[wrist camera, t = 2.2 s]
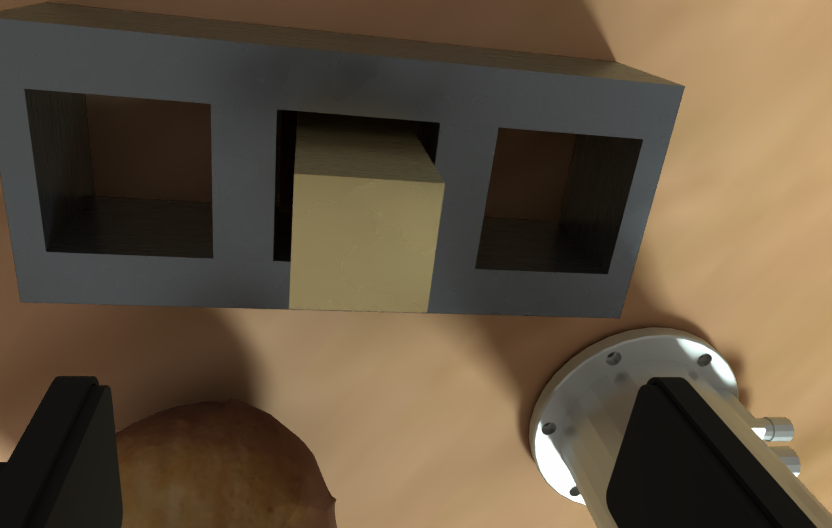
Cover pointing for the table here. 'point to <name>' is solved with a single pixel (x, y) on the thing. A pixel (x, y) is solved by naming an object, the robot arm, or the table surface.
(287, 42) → the graphite rack rail
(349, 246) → the tan rectangular block
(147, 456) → the butternut squash
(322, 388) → the table surface
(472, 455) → the table surface
